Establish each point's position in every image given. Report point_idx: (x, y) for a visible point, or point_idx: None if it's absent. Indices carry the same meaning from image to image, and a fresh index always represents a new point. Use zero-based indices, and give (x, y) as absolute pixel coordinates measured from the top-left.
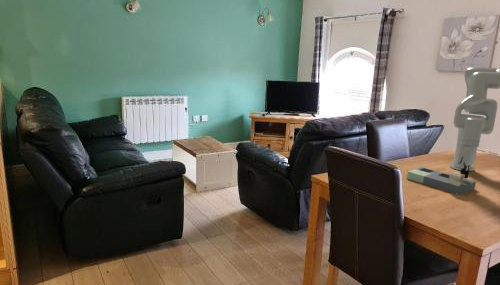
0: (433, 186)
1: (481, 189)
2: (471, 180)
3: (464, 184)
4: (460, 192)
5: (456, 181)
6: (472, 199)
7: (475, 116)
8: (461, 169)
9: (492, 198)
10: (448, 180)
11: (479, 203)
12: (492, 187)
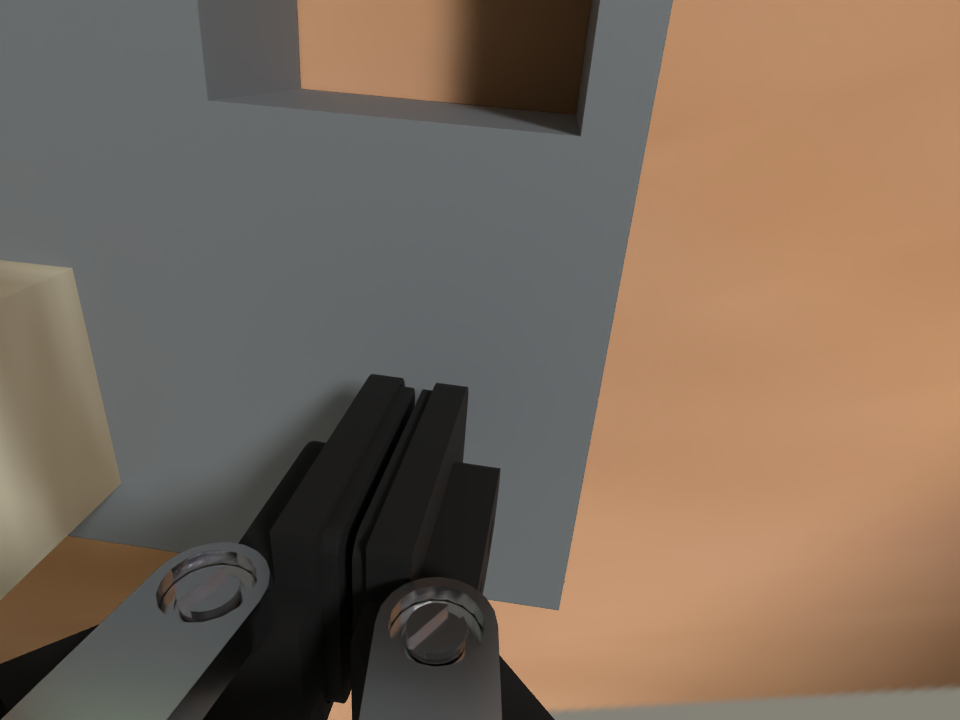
0: None
1: (642, 569)
2: (569, 539)
3: (134, 501)
4: None
5: None
6: (67, 558)
7: None
8: (174, 575)
9: (351, 700)
10: (20, 165)
11: (28, 629)
12: (911, 660)
